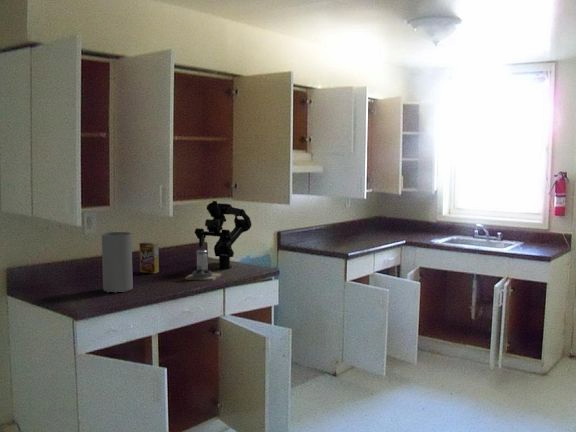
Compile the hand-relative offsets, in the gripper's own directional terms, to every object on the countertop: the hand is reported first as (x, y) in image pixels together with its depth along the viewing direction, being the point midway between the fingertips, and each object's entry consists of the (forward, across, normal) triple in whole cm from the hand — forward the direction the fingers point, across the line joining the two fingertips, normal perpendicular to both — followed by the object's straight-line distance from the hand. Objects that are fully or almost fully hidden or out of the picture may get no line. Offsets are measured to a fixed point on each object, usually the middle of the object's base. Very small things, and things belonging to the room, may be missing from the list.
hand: (208, 247), depth 291 cm
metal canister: (+15, +1, +3) cm, 15 cm away
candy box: (+13, -31, +6) cm, 34 cm away
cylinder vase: (+41, -23, -21) cm, 51 cm away
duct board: (+14, +1, +5) cm, 15 cm away
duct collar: (+16, +1, +3) cm, 16 cm away
